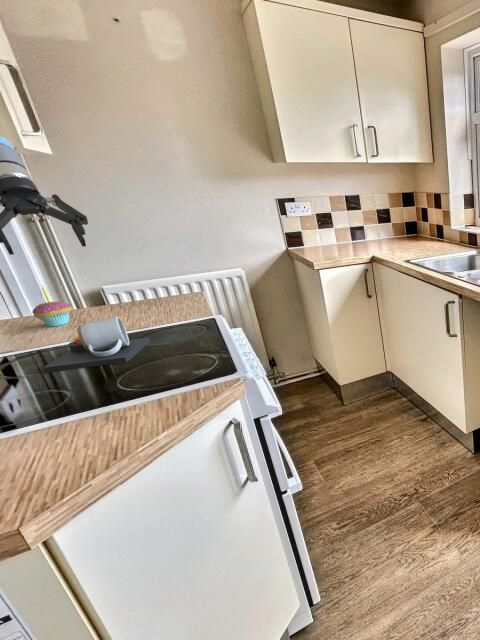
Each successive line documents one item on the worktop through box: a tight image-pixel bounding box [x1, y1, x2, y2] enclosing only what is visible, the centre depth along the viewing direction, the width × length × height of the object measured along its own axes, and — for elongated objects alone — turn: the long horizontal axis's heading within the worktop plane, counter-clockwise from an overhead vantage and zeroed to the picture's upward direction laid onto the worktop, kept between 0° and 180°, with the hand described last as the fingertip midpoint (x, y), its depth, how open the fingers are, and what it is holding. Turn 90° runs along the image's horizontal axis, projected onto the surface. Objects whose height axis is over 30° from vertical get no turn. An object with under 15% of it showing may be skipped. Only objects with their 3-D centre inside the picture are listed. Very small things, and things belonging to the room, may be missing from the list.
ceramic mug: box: [77, 316, 130, 357], centre depth 106 cm, size 11×8×8 cm
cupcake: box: [31, 285, 74, 328], centre depth 129 cm, size 9×8×12 cm
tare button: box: [73, 336, 82, 344], centre depth 109 cm, size 3×3×2 cm
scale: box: [42, 337, 152, 374], centre depth 108 cm, size 16×15×3 cm
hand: (48, 247), depth 110 cm, fingers open, 13 cm apart
